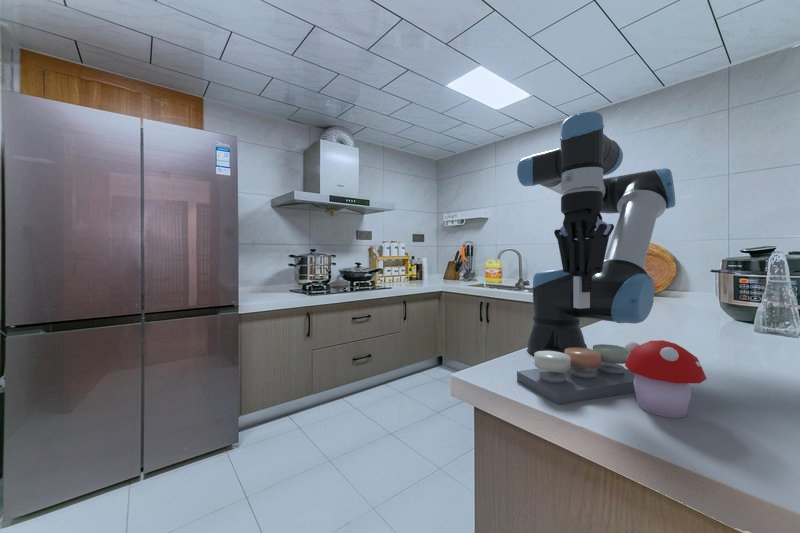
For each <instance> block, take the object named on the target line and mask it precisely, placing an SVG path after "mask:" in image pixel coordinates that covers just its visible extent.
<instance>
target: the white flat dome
mask: <svg viewBox="0 0 800 533" xmlns="http://www.w3.org/2000/svg"><path fill="white" fill-rule="evenodd" d="M533 356H534V359H533V360H534V366H535V367H536V369H538V368H539V369H542V370H546V371H551V372H566V371H569V370H570V369H571V357H570V356H569V355H567V354H565V353H561V352H556V351H538V352H535V353H534V355H533Z"/></svg>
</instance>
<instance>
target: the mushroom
mask: <svg viewBox="0 0 800 533" xmlns="http://www.w3.org/2000/svg"><path fill="white" fill-rule="evenodd" d="M624 348H626V350H627V351H628V352H629V353H630V355H629V357H628V359H627V362H626V364H624V366H625V367H626V369H628V370H629V371H630V372H633V373H636V375H635V378H634V382H633V383H634V388H635V392H634V393H635V397H636V402H637V406H638V407H639V408H641V409H642V410H643V411H646V412H647V413H650V414H652V415H653V414H654V415H656V416H660V417H665V418H671V419H673V418H675V419H679V418H680V419H681V418H684V417H686V415H687V413H688V408H689V406H690V400H691V396H692V392H691V391H692V390H691V387H690V384H696V385H698V384H702V383H703V382H704V381H705V380H707V377H706V373H705V371H704V370H703V367H702V365H701V363H700V360H699V358H698V357H697V356H695V354H694V353H691V352H690V351H688V350H687V349H686V348H684V347H683V346H680V345H679V344H677V343H674V342H671V341H667V340H664V339H662V340H649V341H647V342H644V343H642V344H639V343H638V342H636V341H629V342H626V344H625V347H624Z"/></svg>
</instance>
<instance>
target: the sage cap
mask: <svg viewBox="0 0 800 533" xmlns="http://www.w3.org/2000/svg"><path fill="white" fill-rule="evenodd" d="M592 350H595V351H598V352H600V353H601V361H603V362H607V363H614V364H618V365H623V364H624V365H625V364H626V362H627V359H628V357H629V355H630V353H629V352H628V351H627V350H626V347H623V346H620V345H614V344H601V343H600V344H594V345H593V346H592Z"/></svg>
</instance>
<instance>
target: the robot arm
mask: <svg viewBox="0 0 800 533" xmlns="http://www.w3.org/2000/svg"><path fill="white" fill-rule="evenodd" d="M604 128H605V125H604V120H603V115H602V113H600V112H597V111H585V112H584V111H583V112H580V113H576V114H573V115H571V116H568V118H566V119H565V120H563V122H562V124H561V128H560V129H561V130H560V138H559V141H560V147H559V148H556V149H552V150H547V151H544V152H540V153H536V154H535V153H534V154H532V155H530V156H527V157H523V158H521V159H520V160H519V162H518V163H517V167H516V169H517V170H516V173H517V174H516V175H517V179H518V182H519V183H520V184H521V185H522V186H524V187H534V186H536V185H540V186H542V187H545V188H547V189H549V190H551V191H553V192H555V193H558V194H559V195H562V196H561V198H560V211H561V213H562V214H563V215H564V218H563V221H562V226H561V227H560V228H559V229H554V233H553V234H554V236H555V238H556V240H557V244H558V249H559V255H560V260H561V266H562V269H561V268H560V269H552V270H545V271H544V270H543V271H538V272H536V273H535V274H534V275H533V280H532V286H531V287H532V288H531V289H532V318H533V323H532V326H531V329H530V332H529V336H528V338H527V341H526V351H527V352H529V354H531V355H533V356H534V353H535V352H538V351H556V352H561V353H565V349H566V348H573V347H577V348H587V349H588V345H587V344H586V342H585V336H584V335H583V332H582V329H581V322H580V321H581V320H580V319H587V320H589V319H590V320H595V321H596V320H598V321H606V322H613V323H616V324H634V325H635V324H639V323H642V322H644V321H646V319H647V318H648V316H649V315H650V314H651V311H652V308H653V304H654V301H655V299H654V298H655V292H656V288H655V286H656V285H655V281H654V279H653V277H652V276H650V275H649V274H648V272H647V270H646V268H645V267H644V266H645V264H646V260H647V255H648V251H649V247H650V245H651V240H652V235H653V233H654V227H655V224H656V220H657V219H658V218H659V217H661V216H662V215H663V214H664V212H665V211H666V209H667V210H668V209H670V208H674V207H675V206H676V192H675V185H674V178H673V173H672V171H671V169H670V168H667V167H666V168H664V167H663V168H657V169H656V168H653V169H651V170H646V171H639V172H634V173H628V174H624V175H618V176H611V177H605V178H604V176H608V175H610V174H612V173H614V172H615V171H616V170H618V168H619V167H620V166H621V164H622V162H623V160H624V159H623V158H624V153H623V149H622V148H621V147H620V145H619V144H618V143H617V141H616V140H613V139H611V138H609V137H608V136H607V135H606V134H605V133H604ZM602 214H619V217H618V220H617V223H616V225H614V224H613V223H607V222H605V221H604V220H603V216H602ZM612 233H613V234H612ZM611 234H612V238H611V241H610V243H609V238H610V235H611ZM608 243H609V246H608ZM607 248H608V249H607ZM527 348H528V349H527Z"/></svg>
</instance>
